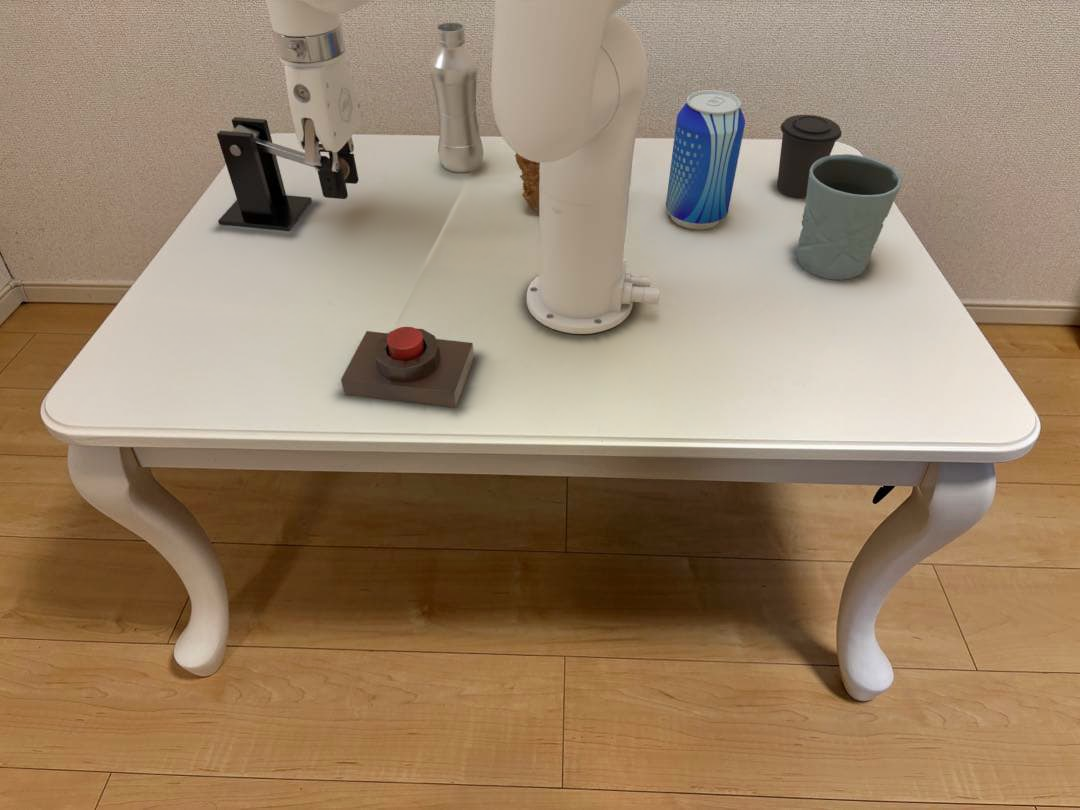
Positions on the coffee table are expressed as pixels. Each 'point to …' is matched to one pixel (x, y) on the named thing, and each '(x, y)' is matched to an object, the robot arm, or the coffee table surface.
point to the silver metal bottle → (456, 100)
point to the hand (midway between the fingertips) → (341, 188)
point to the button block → (409, 371)
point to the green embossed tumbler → (844, 214)
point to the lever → (285, 150)
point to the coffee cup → (803, 150)
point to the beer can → (704, 158)
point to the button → (405, 343)
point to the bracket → (257, 182)
